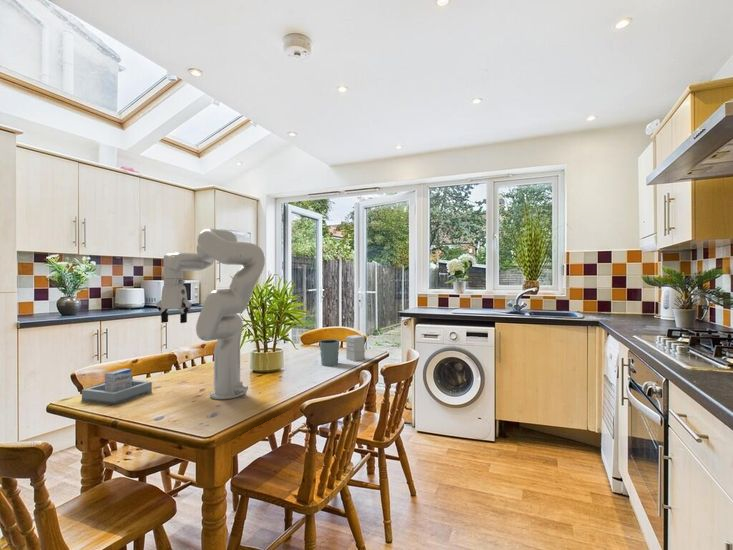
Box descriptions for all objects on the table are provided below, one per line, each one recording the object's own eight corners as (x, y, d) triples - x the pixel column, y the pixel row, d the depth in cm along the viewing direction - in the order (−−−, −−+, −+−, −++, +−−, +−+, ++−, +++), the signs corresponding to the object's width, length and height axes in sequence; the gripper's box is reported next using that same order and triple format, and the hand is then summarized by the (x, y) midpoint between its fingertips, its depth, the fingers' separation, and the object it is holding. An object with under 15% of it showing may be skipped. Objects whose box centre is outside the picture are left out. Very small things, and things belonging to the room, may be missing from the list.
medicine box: (113, 397, 144) (113, 373, 144) (104, 396, 145) (104, 373, 145) (132, 391, 151) (131, 368, 151) (123, 390, 152) (122, 368, 152)
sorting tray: (151, 391, 153) (151, 381, 153) (114, 405, 138) (114, 393, 138) (121, 388, 158) (121, 378, 158) (81, 400, 143) (81, 389, 143)
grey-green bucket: (343, 363, 201) (343, 340, 201) (331, 367, 192) (331, 343, 192) (327, 361, 206) (327, 338, 206) (315, 365, 198) (315, 341, 198)
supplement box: (356, 357, 216) (356, 334, 216) (364, 359, 210) (364, 336, 210) (345, 359, 211) (345, 336, 211) (354, 361, 206) (354, 337, 206)
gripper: (196, 282, 167) (197, 321, 167) (163, 282, 172) (164, 321, 172) (184, 282, 160) (184, 324, 160) (150, 283, 164) (150, 323, 164)
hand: (174, 322), depth 166 cm, fingers open, 9 cm apart
